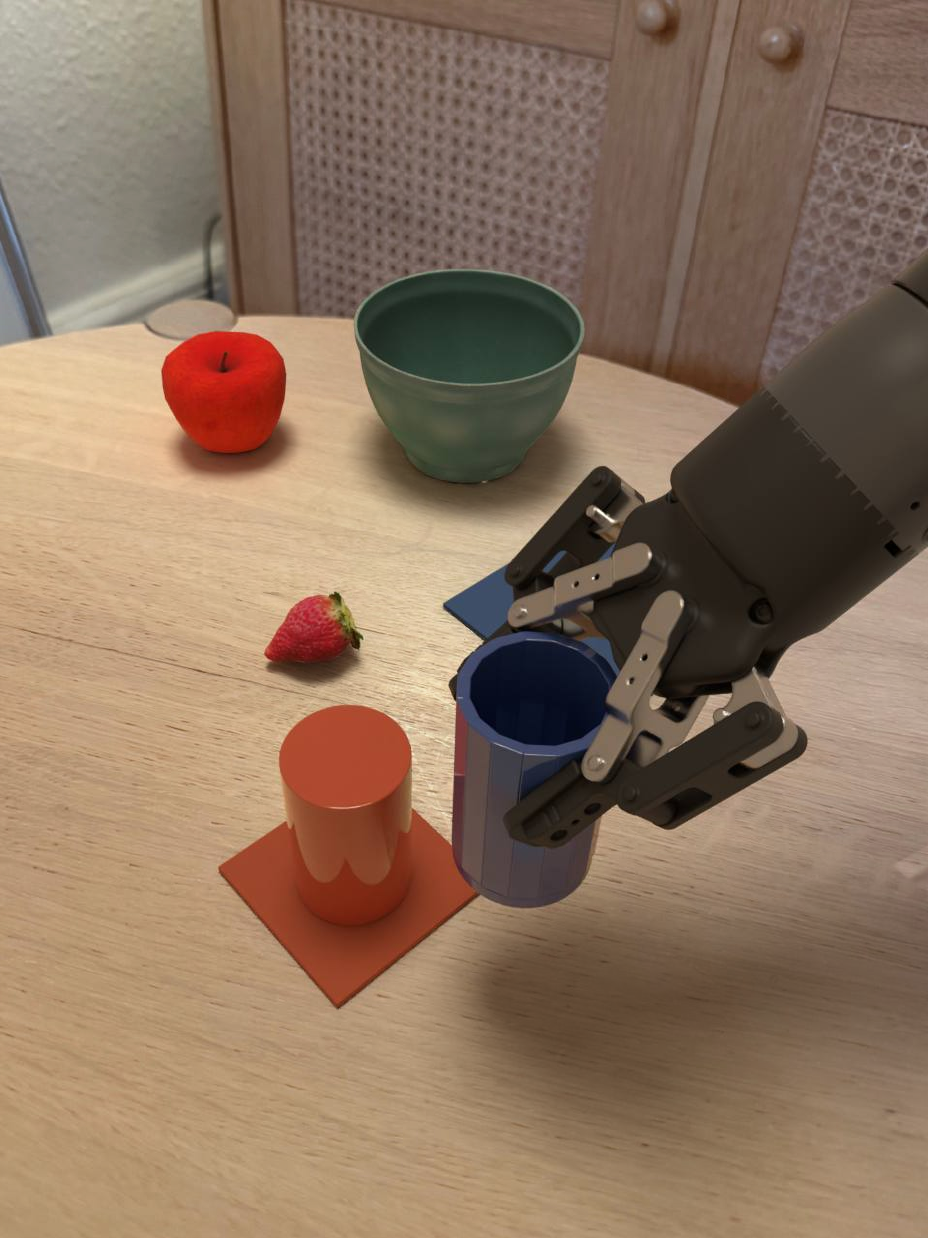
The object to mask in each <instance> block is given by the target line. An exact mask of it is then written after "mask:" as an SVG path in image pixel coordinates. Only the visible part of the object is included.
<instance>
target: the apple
mask: <svg viewBox="0 0 928 1238" xmlns="http://www.w3.org/2000/svg"><path fill="white" fill-rule="evenodd" d="M160 373H161V384H162V392H163V396H164V400H165V402H166V404H167V405H168V407H169V409H170V411H171V413H172V414H173V416H174V418H175V420H176V421H177V423H178V424H179V426H180V427H181V428H182V430H183V431H184V432H185V433H186V434H187V435H188V437H189V438H190V439H191V440H192V441H193V442H194V443H195V444H197V445H198V446H199V447H201V448H202V449H203V450H207V451H208V452H214V453H222V454H223V453H224V454H235V453H236V454H237V453H244V452H249V451H253V450H255V449H257V448H259V447H260V446H262V445H263V444H264V443H265V442H266V441H267V440H268V439H269V438H270V437H271V435H272V433H273V432H274V430H275V428H276V426H277V424H278V423H279V420H280V418H281V416H282V412H283V407H284V403H285V398H286V391H287V390H286V389H287V369H286V364H285V360H284V357H283V356H282V354H281V353H280V351H278V349H277V348H276V346H275V345H274V344H273V343H272V341H269V340H268V339H266V338H264V337H262V336H261V335H259V334H256V333H250V332H245V331H227V330H226V331H224V330H212V331H207V332H203V333H197V334H196V335H194V336H191V337H190V338H188V339H186V340H184V341H183V342H181V343H180V344H179V345H178V346H176V347H175V348H174V349H173V350H172V351H170V352H169V353H168V354H167V355H166V356H165V358H164V360H163V364H162V367H161V370H160Z"/></svg>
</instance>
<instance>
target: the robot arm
mask: <svg viewBox="0 0 928 1238" xmlns="http://www.w3.org/2000/svg"><path fill="white" fill-rule="evenodd" d="M669 482H670V487H671V489H670V490H668V491H667V492H666V493H665V494H663V495H661V496H660V497H658V498H656V499H653V500H650V501H647V502H646V498H645V497H644V495H643V494H642V493H640V492H639V491H637V490H636V489H635V488H634V487H633V486H631V485H630V484H629V483H628V482H627V481H625V480H624V479H623V478H622V477H620V476H619V475H618V474H617V473H616V472H614V470H612V469H611V468H609V467H608V466H607V465H599V466H597V467H595V468H593V469H592V470H591V471H590V472H589V473H588V474H587V476H586V477H585V478H583V480H582V481H581V483H579V484H578V485H577V487H576V488H575V489H574V490H573V492H572V493H570V495H569V496H568V497H567V498H566V499H565V500H563V502H562V503H561V505H560V506H559V507H558V508H557V509H556V510H555V511H554V513H552V515H550V517H548V519H547V520H546V522H545V523H544V524H543V525H542V526H541V527H540V528H539V529H538V531H536V533H535V534H534V535H533V536H532V537H531V538H530V539H529V541H528V542H527V543H526V544H525V545H524V546H523V547H522V548H521V549H520V550H519V552H518V553H517V554H516V555H515V556H514V557H513V559H512V560H510V562H509V564H508V563H507V564H508V566H507V567H506V570H505V574H504V578H505V581H506V583H507V584H509V585H510V586H512V587H513V597H514V603H513V604H512V605H511V607H510V609H509V611H508V620H507V621H506V622H505V623H504V624H503V625H502V626H501V627H499V628H498V629H497V630H496V631H495V632H494V633H493V634H492V635H491V636H489V637H488V638H487V639H486V640H484V641H483V642H481V644H479V645H478V646H477V647H476V648H475V649H474V650H473V651H472V652H470V653H469V654H468V655H467V656H466V657H465V658H464V659H463V660H462V662H461V663H460V665H459V666H458V668H457V670H456V674H455V675H454V676H452V677H451V679H450V680H449V681H448V684H447V685H448V689H449V692H450V693H451V696H452V699H453V701H455V702H456V694H457V677H458V674H459V672H460V671H461V669H462V668H463V666H464V664H465V663H466V661H467V660H468V658H469V657H470V655H471V654H472V653H473V652H474V651H476V650H478V649H479V648H481V647H482V646H484V645H485V644H487V643H488V642H490V641H491V640H493V639H495V638H498V637H502V636H506V635H510V634H514V633H518V632H524V631H529V632H550V633H554V634H555V633H557V634H560V635H563V636H566V637H569V638H572V639H575V640H578V641H581V640H584V639H587V638H592V637H594V638H600V639H607V640H608V641H609V642H610V646H611V650H612V655H613V659H614V662H615V664H616V665H617V667H618V669H619V671H620V673H619V675H618V677H617V679H616V681H615V682H614V684H613V686H612V688H611V690H610V691H609V693H608V695H607V697H606V701H605V706H606V709H607V715H606V718H605V720H604V721H603V723H602V725H601V727H600V729H599V730H598V732H597V734H596V736H595V737H594V739H593V741H592V743H591V745H590V746H589V748H588V750H587V752H586V753H585V755H584V757H583V760H582V762H579V761H577V760H575V759H572V760H571V761H570V762H568V763H567V764H566V765H565V766H564V767H563V768H561V769H560V770H559V771H558V772H556V773H555V774H554V775H552V776H550V777H549V778H548V779H547V780H546V781H544V782H543V783H542V784H541V785H540V786H538V787H537V788H536V789H535V790H533V791H532V792H531V793H530V794H529V795H527V796H526V797H525V798H524V799H522V800H521V801H520V802H519V803H518V804H516V805H515V806H514V807H513V808H512V809H510V810H509V811H508V812H507V813H506V814H505V815H504V816H503V822H504V825H505V827H506V830H507V832H508V834H509V837H510V838H511V839H514V840H516V841H519V842H522V843H524V844H527V845H530V846H533V847H542V846H544V847H547V848H550V849H554V848H557V847H561V846H564V845H565V844H566V843H568V842H569V841H570V840H572V839H573V838H574V836H576V835H578V834H579V833H580V832H582V831H583V829H585V828H587V827H588V826H589V825H591V824H592V823H593V822H594V821H596V820H597V819H598V818H599V817H601V816H602V817H603V815H605V814H606V813H608V811H610V810H611V809H612V808H613V807H615V806H617V807H618V808H619V809H620V810H621V811H622V812H625V813H626V814H629V815H631V816H636V817H639V818H641V819H642V820H645V821H647V822H649V823H651V824H652V825H654V826H656V827H657V828H660V829H662V830H664V831H665V830H666V831H672V830H674V829H677V828H679V827H680V826H682V825H684V824H686V823H687V822H689V821H691V820H692V819H694V818H696V817H698V816H700V815H701V814H703V813H705V812H706V811H708V810H711V808H714V807H715V806H717V805H719V804H721V803H722V802H724V801H726V800H727V799H729V798H731V797H733V796H734V795H736V794H738V793H739V792H742V791H743V790H745V789H747V788H748V787H750V786H752V785H754V784H756V783H757V782H759V781H761V780H763V779H764V778H766V777H767V776H769V775H772V774H773V773H775V772H776V771H778V770H780V769H781V768H783V767H785V766H787V765H789V764H791V763H792V762H795V760H797V759H799V758H801V757H802V756H803V755H804V753H805V752H806V750H807V747H808V744H809V741H808V739H809V738H808V735H807V733H806V731H805V730H804V728H802V727H801V726H799V725H798V724H796V723H795V722H794V721H793V720H792V719H790V718H789V717H788V716H787V715H786V712H785V710H784V708H783V706H782V704H781V702H780V699H779V698H778V696H777V693H776V691H775V690H774V687H773V686H772V684H771V682H770V679H771V678H772V676H773V674H774V672H775V670H776V668H777V666H778V665H779V662H780V661H781V659H782V657H783V656H784V654H785V653H786V652H787V650H788V649H789V648H790V647H792V646H793V645H794V644H796V643H797V642H799V641H801V640H803V639H806V638H808V637H810V636H813V635H815V634H818V633H820V632H822V631H824V630H825V629H826V628H828V627H829V626H830V625H831V624H833V623H835V621H837V620H838V619H840V617H842V616H843V615H845V613H847V612H848V611H849V610H850V609H851V608H853V607H855V606H856V605H857V604H858V603H859V602H861V601H862V600H864V598H866V597H867V596H868V595H870V594H871V593H872V592H873V591H874V590H876V589H877V588H878V587H880V586H881V585H882V584H883V583H885V582H886V581H887V580H888V579H889V578H891V577H892V576H893V575H895V574H896V573H897V572H898V571H900V570H901V569H902V568H903V567H905V566H906V565H907V564H908V563H910V562H911V561H912V560H913V559H915V558H916V557H917V556H919V555H920V554H921V553H922V552H924V551H925V550H926V549H928V247H927V248H926V249H925V250H924V251H923V252H921V253H920V254H919V255H918V256H917V257H916V258H914V260H913V261H911V262H910V263H909V264H908V265H907V266H905V268H904V269H903V270H902V271H900V273H898V274H897V275H896V276H895V277H894V278H892V280H891V281H890V284H886V285H885V286H883V287H882V288H881V289H880V290H879V291H877V292H876V293H875V294H874V295H873V296H871V297H870V298H868V299H867V300H866V301H865V302H863V303H862V304H860V305H859V306H857V307H856V308H854V309H853V310H851V311H850V312H848V313H847V314H845V315H843V317H841V318H840V319H838V320H836V322H834V323H833V324H832V325H831V326H829V327H828V328H827V329H825V330H824V331H823V332H822V333H820V334H819V335H818V336H817V337H816V338H814V339H813V340H812V341H811V342H810V343H809V344H808V345H807V346H806V347H805V348H804V349H802V350H801V351H800V352H799V353H798V354H797V355H795V356H794V357H793V358H792V359H791V360H790V361H789V362H788V363H786V365H784V366H783V368H781V369H780V370H779V371H778V372H777V373H776V374H775V375H774V376H773V377H771V378H770V379H769V380H768V381H767V382H765V384H764V385H762V386H761V387H760V388H758V390H757V391H756V392H755V393H754V394H752V395H751V396H750V397H749V398H748V399H747V400H746V401H744V403H742V404H741V405H740V406H739V407H738V408H737V409H735V411H733V412H732V414H730V415H729V416H728V417H727V418H726V419H725V420H724V421H722V423H720V424H719V425H718V426H717V427H716V428H715V429H714V430H713V431H711V432H710V433H709V434H708V435H707V436H706V437H705V438H704V439H702V441H701V442H699V443H698V444H697V445H696V446H695V447H694V448H692V450H691V451H689V452H688V453H687V454H686V455H685V456H684V457H683V458H682V459H680V460H679V461H678V462H677V463H676V464H675V466H673V468H672V469H671V472H670V475H669ZM615 542H616V543H615ZM614 543H615V546H614V548H613V550H612V553H611V555H610V557H609V558H607V559H604V560H601V561H599V562H597V561H598V560H599V559H600V558H601V557H602V556H603V555H604V554H605V553H606V552H607V551H608V549H609V548H610V547H611V546H612V545H613V544H614ZM561 551H567V552H566V553H565V554H564V555H563V556H562V558H561V559H560V560H559V561H558V562H557V563H556V564H555V565H554V566H553V567H552V569H551V570H550V571H549V572H548V573H546V572H545V571H543V569H544V568H545V567H546V566H547V565H548V564H549V562H550V561H551V560H552V559H553V558H554V557H555V556H556V555H557V554H558V553H559V552H561ZM729 694H730V699H729V700H728V702H726V704H725V705H724V706H723V707H719V708H716V709H715V710H714V711H713V713H712V720H713V724H712V725H711V726H709V727H708V728H706V729H704V730H703V731H701V732H699V733H698V734H696V735H694V736H693V737H691V738H689V739H688V740H686V738H687V736H688V735H689V733H690V731H691V730H692V728H693V726H694V724H695V723H696V721H697V719H698V717H699V715H700V714H701V712H702V710H703V709H704V707H705V705H706V703H707V702H708V700H709V698H710V697H711V696H719V695H729ZM652 695H653V696H656V697H658V698H663V699H664V701H663V703H662V704H661V705H659V707H657V708H654V709H653V708H652V707H651V703H650V700H651V696H652ZM685 740H686V741H685Z"/></svg>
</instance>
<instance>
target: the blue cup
mask: <svg viewBox="0 0 928 1238" xmlns="http://www.w3.org/2000/svg"><path fill="white" fill-rule="evenodd" d="M473 651H474V652H473ZM473 651H472V652H473V653H472V652H471V653H472V654H471V653H470V654H471V655H470V657H469V658H468V660H467V661H466V663H465V664H464V666H463V668H462V669H461V671H460V672H459V674H458V677H457V694H456V701H455V720H454V721H455V722H454V751H453V752H454V753H453V754H454V755H453V783H452V785H453V786H452V809H451V810H452V813H451V819H452V820H451V841H450V842H451V845H452V853H453V858H454V861H455V864H456V867H457V869H458V871H459V873H460V874H461V876H462V877H463V878H464V880H465V881H466V882H467V883H468V884H469V885H470V887H472V888H473V889H474V890H475V891H476V892H477V893H479V894H478V895H480V896H482V897H483V898H485V899H487V900H489V901H490V902H493V903H495V904H498V905H500V906H505V907H509V908H514V909H538V908H543V907H548V906H551V905H553V904H556V903H558V902H561V901H562V900H565V899H566V898H567V897H569V896H571V894H573V893H574V892H575V891H576V890H577V889H579V887H580V886H581V885H582V883H583V882H584V881H585V879H586V877H587V876H588V874H589V872H590V869H591V866H592V862H593V857H594V855H595V852H596V849H597V843H598V838H599V834H600V828H601V823H602V819H603V815H602V816H601V817H599V818H598V819H597V820H596V821H594V822H593V823H592V824H591V825H589V826H588V827H587V828H585V829H583V831H582V832H580V833H579V834H578V835H576V836H574V838H573V839H572V840H570V841H569V842H568V843H566V844H565V845H564V846H561V847H557V848H554V849H550V848H547V847H544V846H542V847H533V846H530V845H527V844H524V843H522V842H519V841H516V840H514V839H511V838H510V837H509V834H508V832H507V830H506V827H505V825H504V822H503V816H504V815H505V814H506V813H507V812H508V811H509V810H510V809H512V808H513V807H514V806H515V805H516V804H518V803H519V802H520V801H521V800H522V799H524V798H525V797H526V796H527V795H529V794H530V793H531V792H532V791H533V790H535V789H536V788H537V787H538V786H540V785H541V784H542V783H543V782H544V781H546V780H547V779H548V778H549V777H550V776H552V775H554V774H555V773H556V772H558V771H559V770H560V769H561V768H563V767H564V766H565V765H566V764H567V763H568V762H570V761H571V760H572V759H575V760H577V761H579V762H582V760H583V757H584V755H585V753H586V752H587V750H588V748H589V746H590V745H591V743H592V741H593V739H594V737H595V736H596V734H597V732H598V730H599V729H600V727H601V725H602V723H603V721H604V720H605V718H606V715H607V709H606V706H605V701H606V697H607V695H608V693H609V691H610V690H611V688H612V686H613V684H614V682H615V681H616V679H617V677H618V676H617V674H616V673H615V671H614V670H613V668H612V667H611V665H610V663H609V662H608V661H607V659H606V658H604V657H603V656H601V655H600V654H599V653H597V652H596V651H595V650H593V649H592V648H591V647H589V646H588V645H586V644H585V643H583V642H581V641H578V640H575V639H572V638H569V637H566V636H563V635H560V634H557V633H555V634H554V633H550V632H529V631H524V632H518V633H514V634H510V635H506V636H502V637H498V638H495V639H493V640H491V641H490V642H488V643H487V644H485V645H484V646H482V647H481V648H479V649H478V650H476V651H475V650H473Z"/></svg>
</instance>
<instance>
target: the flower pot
mask: <svg viewBox="0 0 928 1238" xmlns="http://www.w3.org/2000/svg"><path fill="white" fill-rule="evenodd" d="M353 318H354V319H353V331H354V339H355V343H356V347H357V349H358V351H359V359H360V365H361V370H362V375H363V378H364V379H363V380H364V383H365V386H366V389H367V392H368V394H369V397H370V400H371V401H372V402H371V403H372V404H373V406H374V408H375V410H376V413H377V414H378V416H379V418H380V419H381V421H382V423H383V424H384V426H385V427H386V429H387V430H388V431H389V432H390V434H391V435H392V436H393V437H394V438H395V440H396V441H398V442H399V443H400V444H401V446H402V449H403V452H404V455H405V456H406V458H407V460H408V461H409V463H410V464H411V465H413V467H415V468H416V469H417V470H418V471H420V472H421V473H423V474H425V475H427V476H430V477H432V478H434V479H437V480H441V481H447V482H452V483H461V484H473V483H481V482H482V483H484V482H487V481H492V480H495V479H499V478H501V477H503V476H505V475H508V474H509V473H511V472H512V471H514V470H515V469H517V468H518V467H519V466H520V464H521V463H522V462H523V461H524V459H525V458H526V457H525V456H526V455H527V451H528V450H529V449H530V448H531V447H532V446H533V445H534V444H535V443H536V442H537V441H538V440H539V439H540V438H541V437H542V436H543V435H544V434H545V433H546V431H547V430H548V429H549V428H550V426H551V425H552V423H554V421H555V419H556V418H557V416H558V414H559V413H560V411H561V409H562V408H563V405H564V403H565V401H566V399H567V396H568V394H569V392H570V389H571V386H572V382H573V379H574V375H575V371H576V367H577V361H578V356H579V354H580V352H581V350H582V345H583V342H584V337H585V322H584V320H583V319H584V318H583V316H582V315H581V313H580V311H579V310H578V308H577V307H576V306H575V305H574V304H573V302H571V301H570V300H569V298H567V297H566V296H565V295H563V294H562V293H561V292H559V291H558V290H556V289H554V288H552V287H550V286H548V285H546V284H544V283H541V282H539V281H537V280H534V279H532V278H529V277H526V276H522V275H518V274H514V273H509V272H502V271H495V270H489V269H478V268H477V269H475V268H448V269H447V268H446V269H436V270H429V271H423V272H418V273H414V274H409V275H406V276H404V277H401V278H397V279H395V280H392V281H390V282H388V283H386V284H384V285H383V286H381V287H378V289H376V290H375V289H374V291H373V292H371V293H370V294H369V295H368V296H367V297H366V298H365V299H363V301H362V302H361V303H360V305H359V306H358V308H357V310H356V311H355V314H354V317H353Z"/></svg>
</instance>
